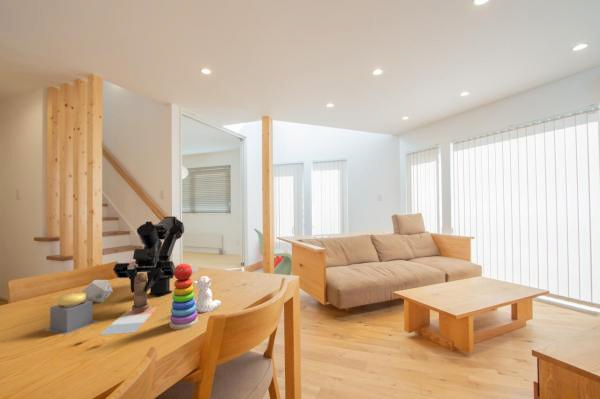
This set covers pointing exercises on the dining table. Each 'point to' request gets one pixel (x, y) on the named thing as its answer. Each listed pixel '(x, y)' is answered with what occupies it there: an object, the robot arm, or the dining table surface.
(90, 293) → the die
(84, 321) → the box
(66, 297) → the dome button
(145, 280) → the brown round-topped post
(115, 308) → the dining table surface
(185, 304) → the stacking toy
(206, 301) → the seated beast figurine
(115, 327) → the game board
